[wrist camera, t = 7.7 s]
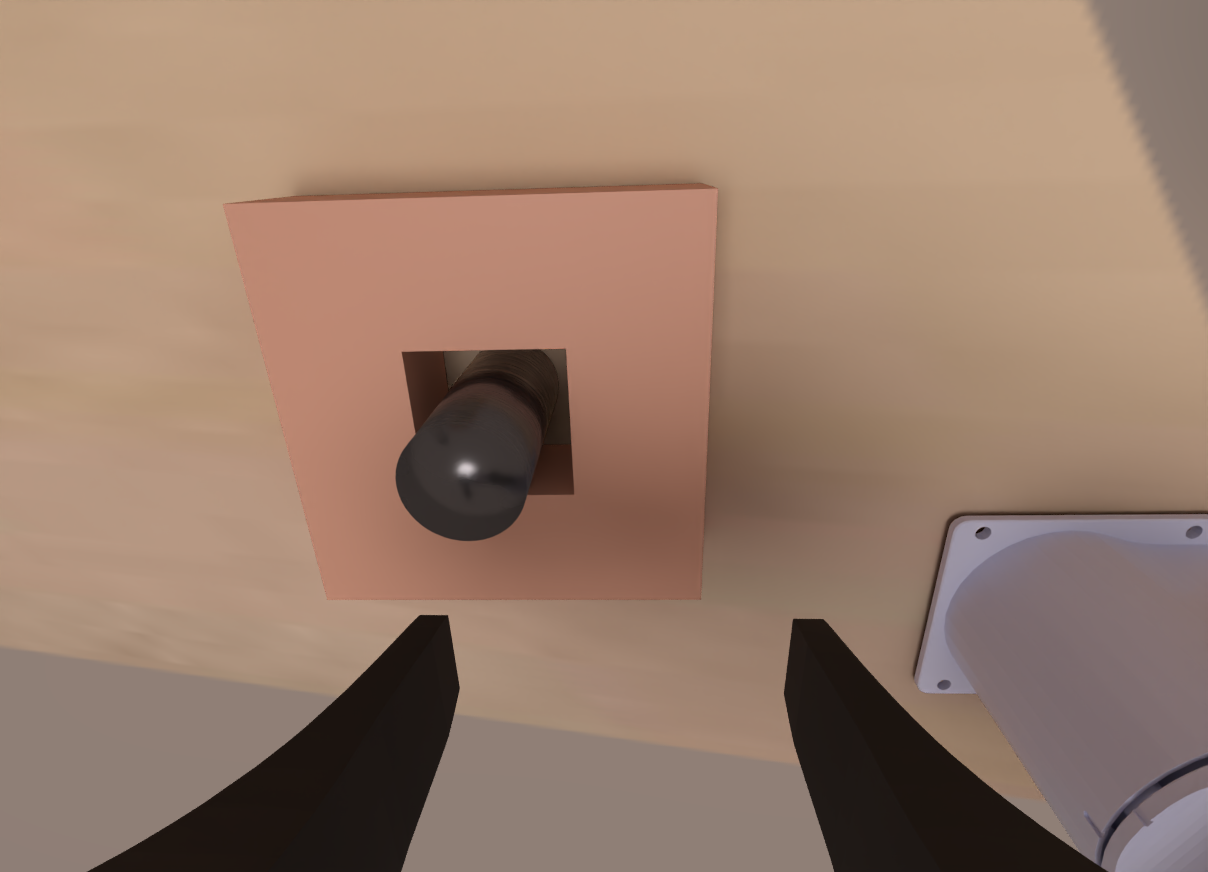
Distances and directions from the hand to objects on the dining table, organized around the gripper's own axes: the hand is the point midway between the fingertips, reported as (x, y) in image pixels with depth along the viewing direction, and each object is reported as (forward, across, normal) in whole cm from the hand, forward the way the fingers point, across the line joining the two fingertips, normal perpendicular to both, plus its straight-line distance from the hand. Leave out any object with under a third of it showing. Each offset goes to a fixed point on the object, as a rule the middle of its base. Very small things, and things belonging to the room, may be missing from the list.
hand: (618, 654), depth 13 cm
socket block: (+9, +4, -3) cm, 10 cm away
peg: (+9, +4, -3) cm, 10 cm away
